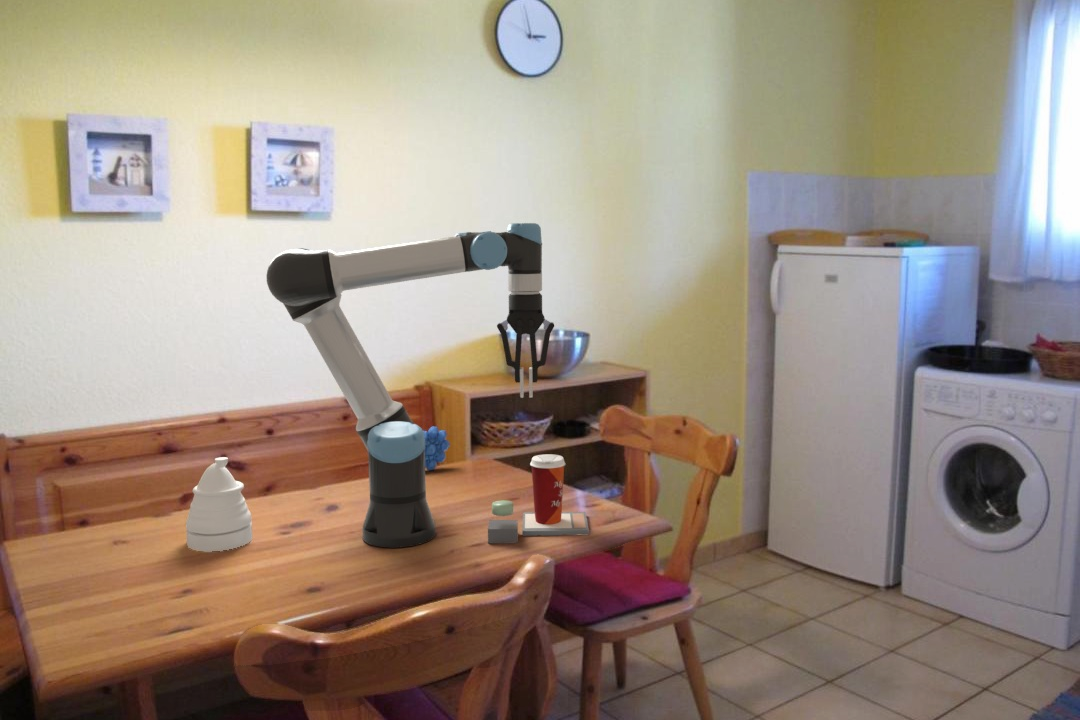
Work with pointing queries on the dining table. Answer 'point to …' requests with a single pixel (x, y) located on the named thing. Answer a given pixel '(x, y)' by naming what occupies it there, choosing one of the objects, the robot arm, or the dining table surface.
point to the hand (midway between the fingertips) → (526, 396)
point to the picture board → (556, 525)
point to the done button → (502, 508)
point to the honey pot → (218, 512)
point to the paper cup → (548, 487)
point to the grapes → (435, 447)
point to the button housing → (503, 531)
